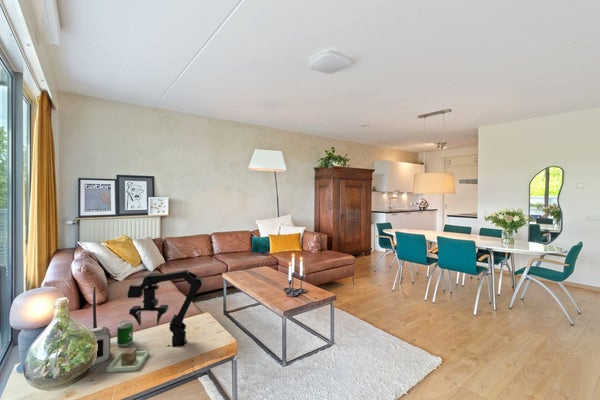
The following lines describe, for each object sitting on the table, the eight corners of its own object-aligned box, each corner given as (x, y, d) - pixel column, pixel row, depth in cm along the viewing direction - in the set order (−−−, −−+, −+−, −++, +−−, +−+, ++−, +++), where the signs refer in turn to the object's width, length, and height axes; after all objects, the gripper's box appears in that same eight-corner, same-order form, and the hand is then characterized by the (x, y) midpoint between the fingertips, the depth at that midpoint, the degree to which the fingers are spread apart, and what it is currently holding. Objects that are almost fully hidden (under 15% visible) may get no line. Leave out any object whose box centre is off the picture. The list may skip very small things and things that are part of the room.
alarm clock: (68, 371, 134) (68, 339, 134) (70, 360, 143) (70, 329, 143) (110, 360, 144) (110, 330, 144) (109, 350, 153) (109, 321, 153)
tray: (148, 354, 150) (148, 350, 150) (138, 370, 136) (138, 366, 136) (120, 355, 148) (120, 352, 148) (106, 372, 134) (106, 368, 134)
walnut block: (136, 359, 145) (136, 347, 145) (132, 365, 140) (132, 353, 140) (125, 359, 144) (125, 348, 144) (121, 365, 140) (121, 353, 139)
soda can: (125, 348, 156) (125, 326, 155) (113, 346, 157) (114, 324, 157) (135, 341, 163) (136, 320, 163) (124, 339, 164) (124, 319, 164)
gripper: (171, 291, 167) (170, 317, 167) (137, 292, 164) (136, 319, 164) (165, 298, 156) (165, 326, 156) (128, 299, 153) (128, 328, 153)
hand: (149, 324), depth 158 cm, fingers open, 9 cm apart
